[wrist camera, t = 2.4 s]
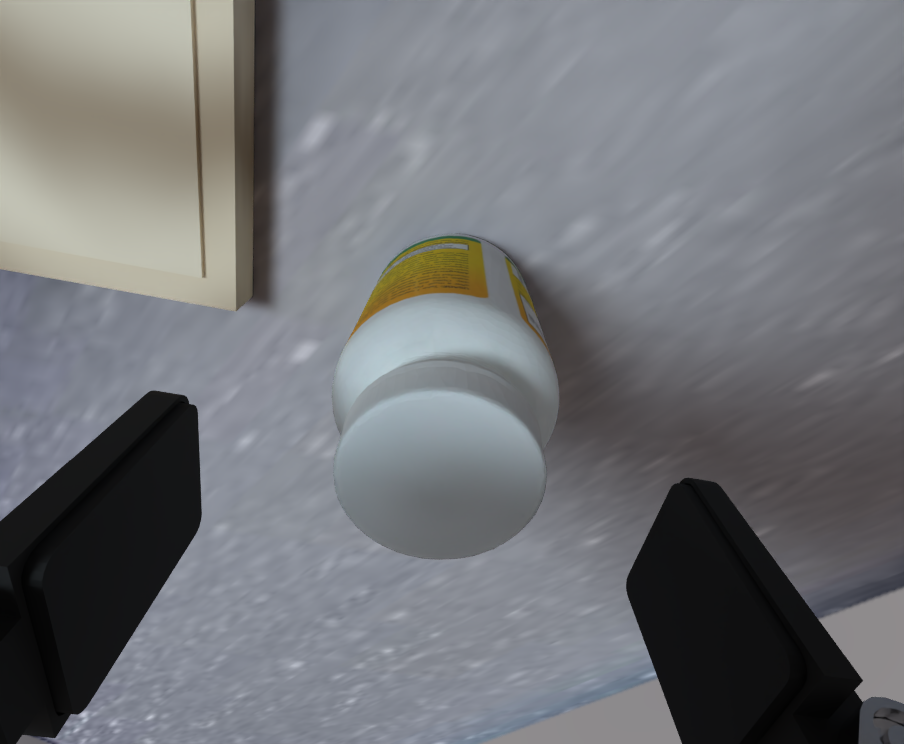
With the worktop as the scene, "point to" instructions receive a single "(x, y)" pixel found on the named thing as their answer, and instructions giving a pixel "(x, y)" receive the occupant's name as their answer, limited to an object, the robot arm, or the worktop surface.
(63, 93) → the cream square tray
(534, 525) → the worktop surface
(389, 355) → the supplement bottle
